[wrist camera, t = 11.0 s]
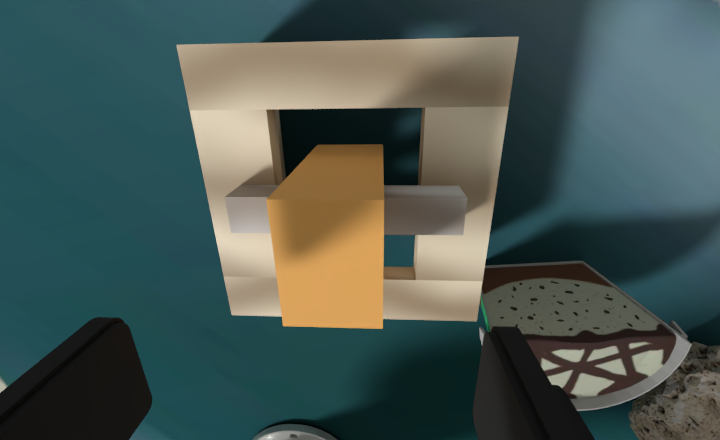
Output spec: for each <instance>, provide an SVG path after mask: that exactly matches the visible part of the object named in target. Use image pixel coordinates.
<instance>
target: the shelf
mask: <svg viewBox="0 0 720 440" xmlns="http://www.w3.org/2000/svg"><path fill="white" fill-rule="evenodd" d="M518 40H519V37H479V38H438V39H397V40H356V41H315V42H274V43H234V44H193V45H177V50H178V55H179V60H180V65H181V70H182V75H183V80H184V84H185V89H186V94H187V99H188V104H189V109H190V114H191V119H192V123H193V128H194V133H195V138H196V143H197V148H198V153H199V158H200V163H201V167H202V172H203V177H204V182H205V187H206V192H207V197H208V202H209V207H210V211H211V216H212V221H213V226H214V231H215V236H216V241H217V246H218V251H219V255H220V260H221V265H222V270H223V275H224V280H225V285H226V290H227V295H228V299H229V304H230V309H231V314H232V315H248V316H282V314H281V306H280V299H279V291H278V284H277V276H276V269H275V261H274V254H273V246H272V239H271V231H270V224H269V216H268V209H267V201H266V199H267V198H268V197H269V196H270V195H271V194H272V193H273V192H274V191H275V190H276V189H277V187H278V186H279V185H280V184H281V183H282V182H283V181H284V180H285V179H286V174H285V164H284V155H283V145H282V136H281V126H280V117H279V109H348V108H422V116H421V135H420V154H419V173H418V185H384V235H415V249H414V267H383V319H406V320H446V321H477V316H478V309H479V303H480V296H481V289H482V282H483V276H484V269H485V262H486V256H487V249H488V242H489V235H490V229H491V222H492V215H493V208H494V202H495V195H496V188H497V181H498V175H499V168H500V161H501V155H502V148H503V141H504V134H505V128H506V121H507V114H508V107H509V101H510V94H511V87H512V80H513V74H514V67H515V60H516V54H517V47H518Z"/></svg>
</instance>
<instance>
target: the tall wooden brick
mask: <svg viewBox="0 0 720 440" xmlns="http://www.w3.org/2000/svg"><path fill="white" fill-rule="evenodd" d="M266 201H267V209H268V216H269V224H270V231H271V239H272V246H273V254H274V261H275V269H276V276H277V284H278V291H279V299H280V306H281V314H282V321H283V326H298V327H336V328H373V329H383V264H384V168H383V144H353V145H317V146H316V147H315V148H314V149H313V150H312V151H311V152H310V153H309V154H308V155H307V156H306V158H305V159H304V160H303V161H302V162H301V163H300V164H299V165H298V166H297V167H296V168H295V169H294V170H293V171H292V173H291V174H290V175H289V176H288V177H287V178H286V179H285V180H284V181H283V182H282V183H281V184H280V185H279V186H278V187H277V189H276V190H275V191H274V192H273V193H272V194H271V195H270V196H269V197H268V198H267V199H266Z"/></svg>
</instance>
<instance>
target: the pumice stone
mask: <svg viewBox="0 0 720 440" xmlns="http://www.w3.org/2000/svg"><path fill="white" fill-rule="evenodd" d="M691 344H692V345H691V347H690V349H689V352H688V354H687V355H686V357H685V358H684V360H683V361H682V363H681V364H680V365H679V367H678V368H677V369H676V370H675V371H674V372H673V373H672V374H671V375H670V376H669V377H668V378H666V379H665V380H664V381H663V382H661V383H660V384H659V385H657V386H656V387H654V388H653V389H651V390H650V391H648V392H646V393H644V394H642V395H640V396H639V397H638V398H637V399H636V400H635V401H633V404H632V410H631V411H630V412H629V419H630V421H631V423H630V426H631V428H632V429H633V431H634V432H635V434H636V436H637V437H638V438H639V440H720V345H718V346H706V345H703V344H700V343H697V342H692V343H691Z"/></svg>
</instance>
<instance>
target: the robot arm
mask: <svg viewBox="0 0 720 440" xmlns="http://www.w3.org/2000/svg"><path fill="white" fill-rule="evenodd" d="M151 404H152V395H151V392H150V389H149V386H148V383H147V380H146V377H145V374H144V371H143V368H142V365H141V362H140V359H139V356H138V353H137V350H136V347H135V344H134V341H133V338H132V335H131V332H130V329H129V326H128V325H127V324H125V323H124V321H123V320H122V319H121V318H106V317H97V318H93V319H92V320H90V321H89V322H87V323H86V324H85V325H84V326H83V327H81V328H80V329H79V330H78V331H76V332H75V333H74V334H73V335H71V336H70V337H69V338H68V339H66V340H65V341H64V342H63V343H61V344H60V345H59V346H58V347H57V348H55V349H54V350H53V351H52V352H50V353H49V354H48V355H47V356H45V357H44V358H43V359H42V360H40V361H39V362H38V363H37V364H36V365H34V366H33V367H32V368H31V369H29V370H28V371H27V372H26V373H24V374H23V375H22V376H21V377H19V378H18V379H17V380H16V381H14V382H13V383H12V384H11V385H10V386H8V387H7V388H6V389H5V390H4V391H2V392H1V393H0V440H129V439H130V437H131V436H132V434H133V433H134V432H135V430H136V429H137V427H138V426H139V424H140V423H141V422H142V420H143V419H144V417H145V416H146V415H147V413H148V412H149V410H150V407H151ZM473 420H474V425H475V428H476V432H477V435H478V439H479V440H595V439H594V437H593V436H592V434H591V432H590V431H589V429H588V428H587V426H586V424H585V423H584V421H583V419H582V418H581V416H580V414H579V413H578V411H577V410H576V408H575V406H574V405H573V403H572V401H571V400H570V398H569V396H568V395H567V394H566V392H565V391H564V390H563V388H561V387H560V386H559V385H552V384H551V382H550V381H549V379H548V377H547V376H546V374H545V372H544V370H543V369H542V367H541V365H540V363H539V362H538V360H537V358H536V357H535V355H534V353H533V351H532V350H531V348H530V346H529V344H528V343H527V341H526V339H525V338H524V336H523V334H522V332H521V331H520V329H519V328H518V327H508V326H494V327H492V329H491V332H485V334H484V337H483V344H482V351H481V357H480V364H479V371H478V378H477V384H476V391H475V398H474V404H473ZM253 440H337V439H336V438H335V437H333V436H332V435H330V434H329V433H327V432H325V431H323V430H320V429H318V428H315V427H312V426H307V425H302V424H282V425H277V426H273V427H270V428H267V429H265V430H263V431H262V432H260V433H258V434H257V435H256V436H255V437H254V438H253Z"/></svg>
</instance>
